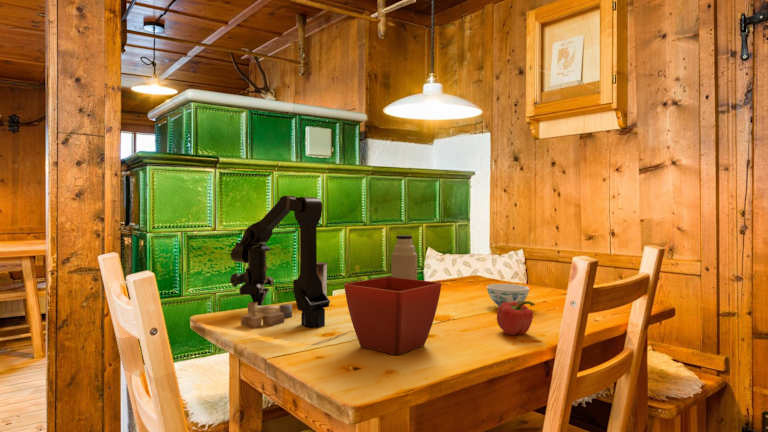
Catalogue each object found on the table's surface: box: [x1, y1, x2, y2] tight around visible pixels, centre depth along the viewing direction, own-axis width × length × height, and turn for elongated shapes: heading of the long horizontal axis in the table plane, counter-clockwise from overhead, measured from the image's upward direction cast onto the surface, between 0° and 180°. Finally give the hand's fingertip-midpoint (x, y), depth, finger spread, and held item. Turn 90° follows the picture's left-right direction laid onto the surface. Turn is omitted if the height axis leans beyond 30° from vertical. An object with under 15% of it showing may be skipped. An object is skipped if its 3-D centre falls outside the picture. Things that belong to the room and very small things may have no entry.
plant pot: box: [343, 276, 442, 356], centre depth 128 cm, size 19×19×17 cm
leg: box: [247, 301, 293, 319], centre depth 157 cm, size 14×4×4 cm, turn 88°
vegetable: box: [496, 300, 536, 336], centre depth 141 cm, size 11×10×10 cm
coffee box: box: [311, 261, 328, 304], centre depth 179 cm, size 9×6×16 cm
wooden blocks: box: [240, 312, 285, 330], centre depth 147 cm, size 8×10×4 cm
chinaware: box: [486, 283, 530, 308], centre depth 177 cm, size 15×15×8 cm
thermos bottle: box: [391, 234, 418, 280], centre depth 152 cm, size 8×8×28 cm
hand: (257, 311), depth 160 cm, fingers closed
